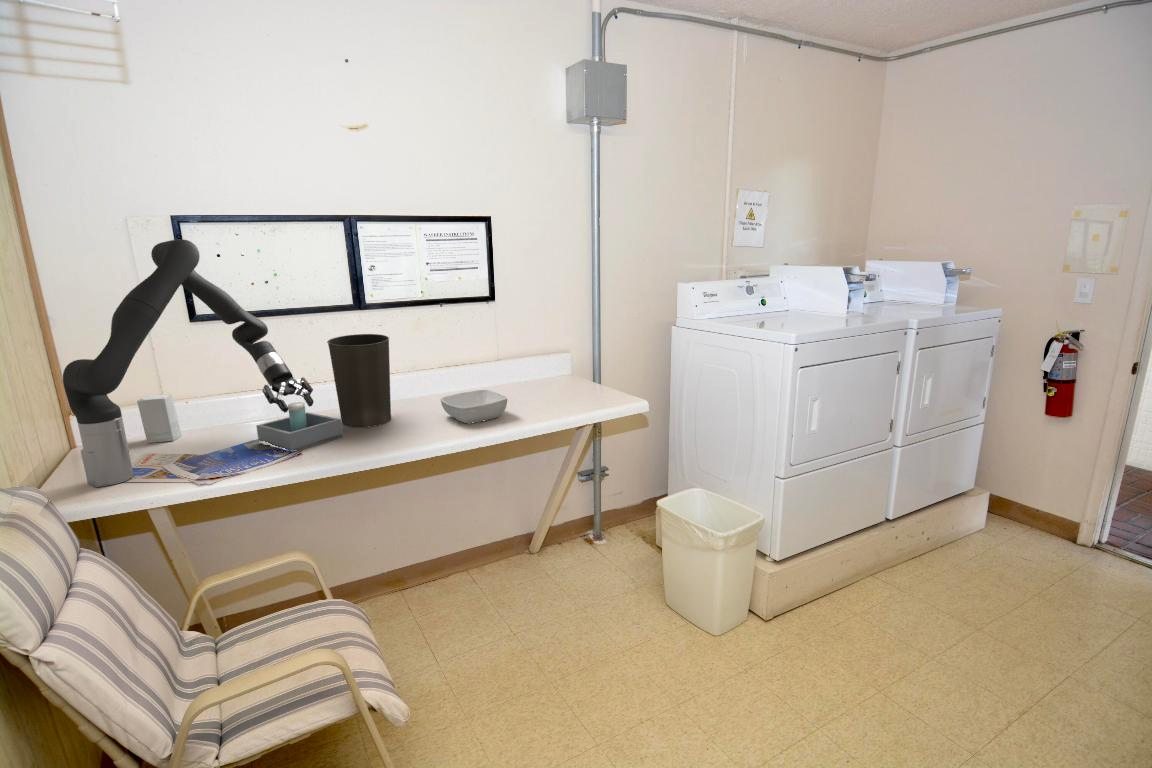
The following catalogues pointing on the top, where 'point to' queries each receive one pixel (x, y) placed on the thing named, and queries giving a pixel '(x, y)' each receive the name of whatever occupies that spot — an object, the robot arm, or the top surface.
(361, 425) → the waste basket
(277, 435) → the slate bin
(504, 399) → the square bowl
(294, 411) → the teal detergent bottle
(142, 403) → the skincare box
